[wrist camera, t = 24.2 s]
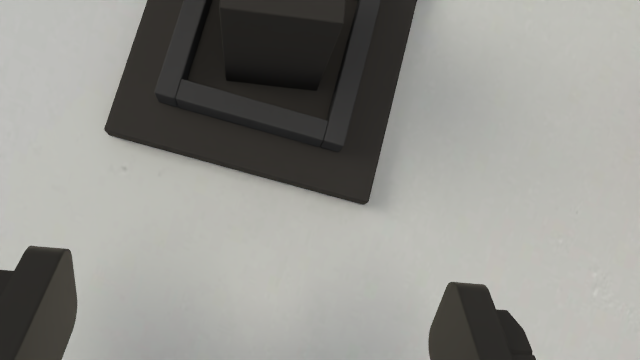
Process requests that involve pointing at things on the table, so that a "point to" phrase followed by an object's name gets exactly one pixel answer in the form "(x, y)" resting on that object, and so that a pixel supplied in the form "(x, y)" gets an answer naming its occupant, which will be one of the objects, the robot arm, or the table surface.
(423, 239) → the table surface
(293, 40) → the black block
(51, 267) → the robot arm
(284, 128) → the base pad
